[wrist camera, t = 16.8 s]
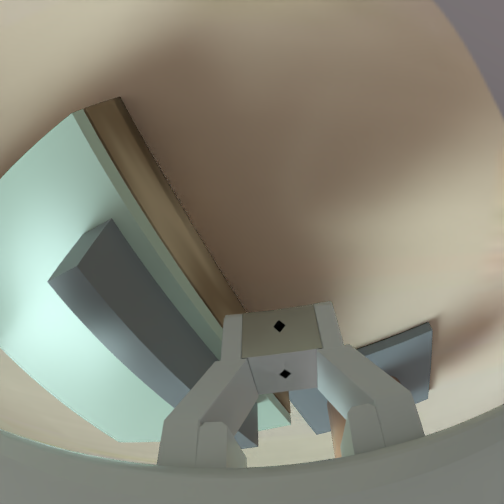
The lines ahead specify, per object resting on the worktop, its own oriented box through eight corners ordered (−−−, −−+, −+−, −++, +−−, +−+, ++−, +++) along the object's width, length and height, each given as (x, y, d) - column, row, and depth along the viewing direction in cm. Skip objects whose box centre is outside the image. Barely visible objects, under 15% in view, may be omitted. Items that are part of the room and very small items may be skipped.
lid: (290, 414, 15) (293, 461, 12) (120, 434, 17) (113, 469, 15) (82, 108, 7) (18, 135, 4) (-60, 258, 9) (-90, 292, 7)
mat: (425, 392, 19) (427, 398, 19) (315, 428, 21) (316, 434, 21) (428, 322, 15) (432, 330, 14) (276, 373, 17) (276, 382, 16)
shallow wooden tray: (287, 375, 17) (290, 413, 15) (128, 404, 20) (121, 433, 17) (120, 96, 9) (85, 107, 7) (-32, 231, 11) (-59, 256, 9)
